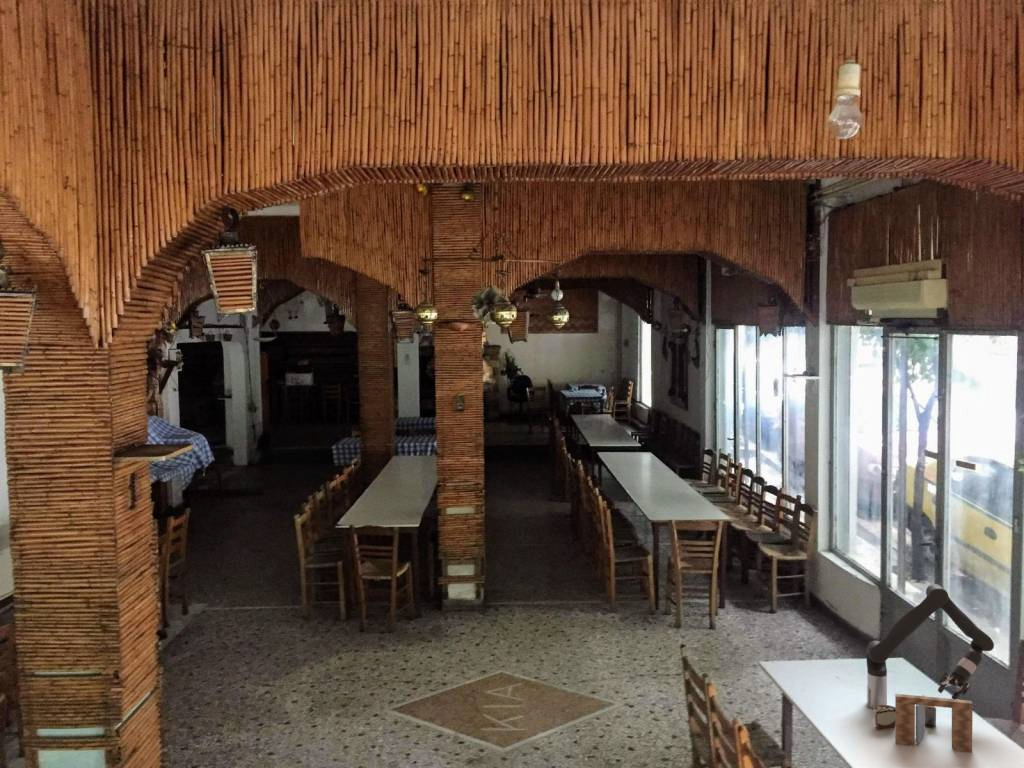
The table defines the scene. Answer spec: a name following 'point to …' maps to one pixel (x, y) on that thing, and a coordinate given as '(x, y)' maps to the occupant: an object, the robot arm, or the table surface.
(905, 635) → the robot arm
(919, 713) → the cabinet door
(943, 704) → the door frame
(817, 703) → the table surface
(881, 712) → the food container
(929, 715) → the pepper mill
